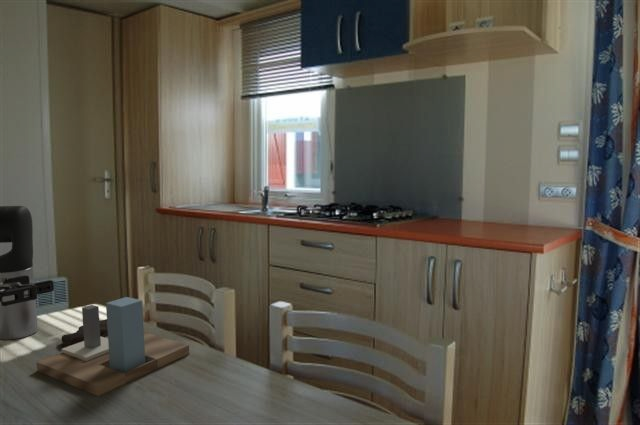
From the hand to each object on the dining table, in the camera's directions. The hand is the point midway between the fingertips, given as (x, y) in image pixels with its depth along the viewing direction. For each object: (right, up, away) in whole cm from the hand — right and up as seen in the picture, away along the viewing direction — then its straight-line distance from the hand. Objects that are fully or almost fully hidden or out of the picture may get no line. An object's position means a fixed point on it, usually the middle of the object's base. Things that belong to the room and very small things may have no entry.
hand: (40, 282), depth 97 cm
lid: (+5, -17, +11) cm, 21 cm away
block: (+16, -19, +5) cm, 25 cm away
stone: (-1, -18, +27) cm, 32 cm away
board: (+11, -19, +10) cm, 24 cm away
